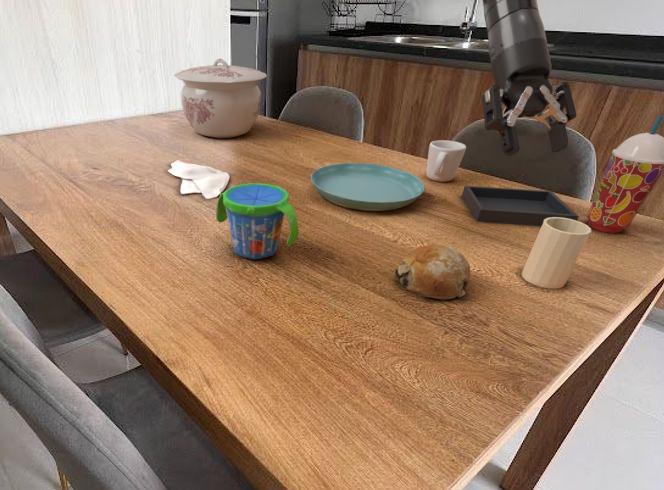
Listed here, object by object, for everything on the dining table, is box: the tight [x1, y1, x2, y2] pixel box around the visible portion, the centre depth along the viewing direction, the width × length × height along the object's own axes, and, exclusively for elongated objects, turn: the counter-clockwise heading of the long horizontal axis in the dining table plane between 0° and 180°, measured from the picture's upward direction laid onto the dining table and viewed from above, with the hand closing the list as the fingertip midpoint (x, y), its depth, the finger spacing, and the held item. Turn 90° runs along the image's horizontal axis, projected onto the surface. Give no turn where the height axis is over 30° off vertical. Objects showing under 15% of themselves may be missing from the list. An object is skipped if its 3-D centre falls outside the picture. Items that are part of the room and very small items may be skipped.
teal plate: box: [310, 162, 425, 212], centre depth 99 cm, size 24×24×3 cm
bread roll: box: [394, 244, 471, 300], centre depth 67 cm, size 10×10×8 cm
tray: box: [461, 185, 580, 227], centre depth 92 cm, size 18×14×2 cm
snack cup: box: [215, 182, 299, 261], centre depth 74 cm, size 16×10×10 cm
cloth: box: [167, 159, 230, 200], centre depth 106 cm, size 26×14×2 cm, turn 17°
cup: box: [425, 139, 467, 183], centre depth 105 cm, size 11×8×8 cm
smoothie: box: [586, 115, 664, 234], centre depth 81 cm, size 8×8×20 cm
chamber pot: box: [173, 58, 268, 139], centre depth 137 cm, size 28×28×21 cm
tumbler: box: [521, 217, 592, 289], centre depth 68 cm, size 6×6×9 cm
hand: (536, 152), depth 69 cm, fingers open, 8 cm apart
